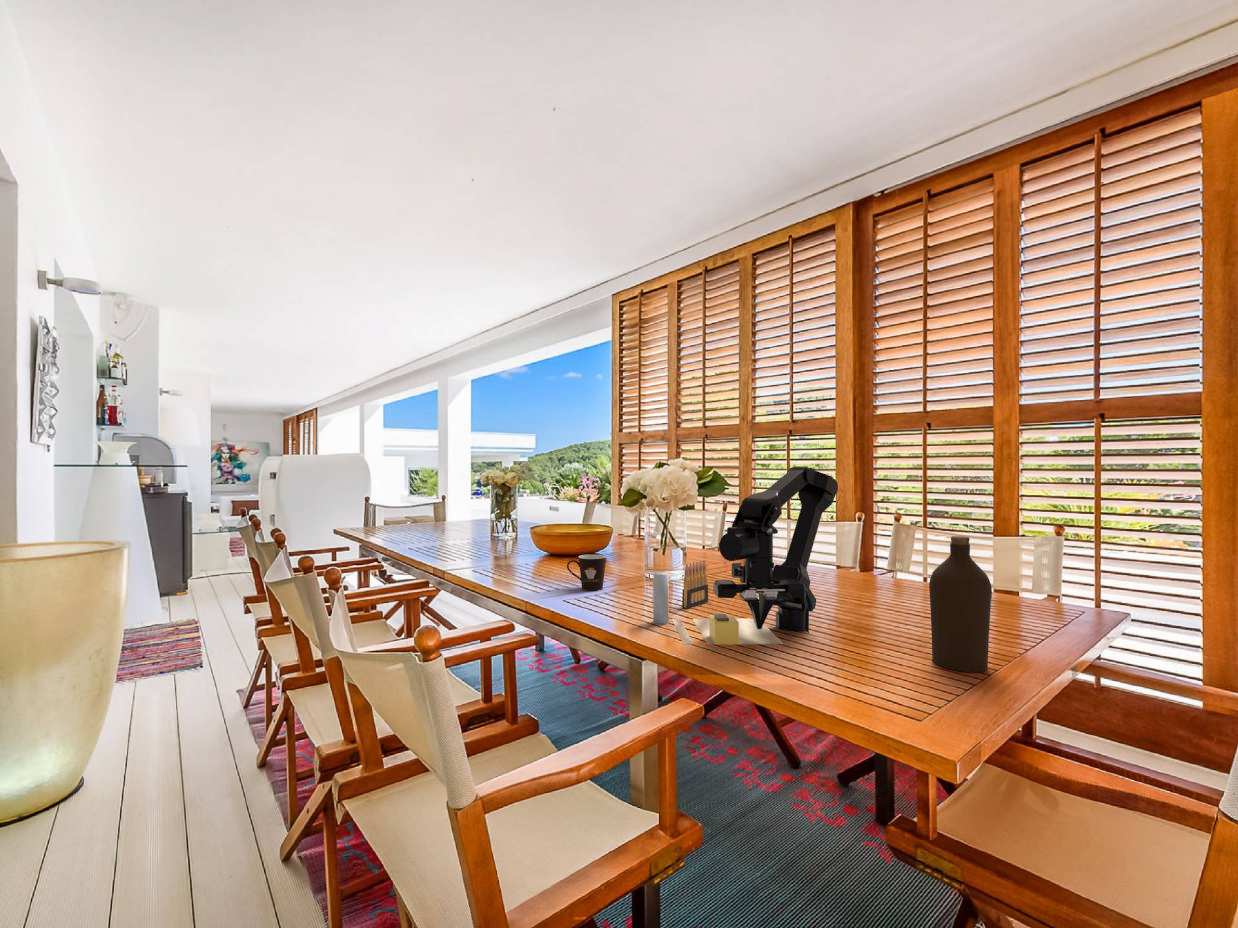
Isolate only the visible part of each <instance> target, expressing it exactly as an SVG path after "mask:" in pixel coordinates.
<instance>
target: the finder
mask: <svg viewBox="0 0 1238 928" xmlns="http://www.w3.org/2000/svg"><path fill="white" fill-rule="evenodd" d="M709 619H710V622H709V636H710V637H711V639H712V641H713V642H714V644H713V645H740V644H739V622H738V621H737V620H736V619H737V618H735V616H733V614H726V613H714V614H709Z"/></svg>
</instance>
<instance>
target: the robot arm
mask: <svg viewBox="0 0 1238 928" xmlns="http://www.w3.org/2000/svg"><path fill="white" fill-rule="evenodd" d="M838 491H839V485H838V482H837V480H836V479H835V478H834V477H833V476H832V475H829V474H826V473H823V472H821V471H818V470H815V469H814V468H813V467H810V466H808V465H807V466H806V465H805V466H804V465H802V466H796V465H795V466H792V467H790V468H789V469H788V471H787V472H786V473H785V474H784V475H783V476H780V478H779V479H778V480H776V482H774V483H773V484H772V485H771V486H769V487H767V489H765V490H763V491H759V492H755V493H752V494H750V495H747V496H746V497H744V498H743V500H742V501H741V502H740V503H741V504H740V506H739V508H738V511H737V513H736V515H735V517H734V520H733V522H732V524H731V526H730V527H729V526H728V527H726V533H725V534H723V535H722V536H721V539H720V541H719V543H718V550H719V552H720V554H721V556H722V558H723V559H725V560H726V561H729V562H733V563H731V578H733V579H740V580H739V582H740V583H737V584H736V582H735V581H734V580H732V579H716V580H715V581H713V584H712V585H713V586H712V588H713V589H712V590H713V593H714V595H715V596H716V597H717V598H719V599H734V598H735V597H737V595H738V594H739V598H741V600H743V601H744V602H746V603H747V605H748V607H749V609H750V612H751V613H750V614H751V615H752V618H753V619H754V622H755V625H756V628H757V629H762V626H763V624H764V625H765V621H766V619H767V617H768V615H769V614H770V613H769V612H770V611H771V609H772V608H773V606H777V611H776V612H775V627H776V628H777V629H778V630H781V631H789V632H804V631H805V632H806V633H808V635H810V636H812V634H811V633H810V612H813V611H814V609H816V605H817V598H816V596H815V595H814V594H813V592H812V590H811V587H810V586H811V579H810V575H809V573H808V571H807V570H808V569H807V568H808V565H809V560H810V557H811V553H812V551H813V546H814V545H815V544H814V543H815V540H816V536H817V533H818V529H819V525H820V522H821V518H822V515H823V513H824V512H825V511H826V510H827V509H828V508H829V507H831V506H832V505H833V502H834V500H835V497H836V495H837V493H838ZM795 495H797V496H798V499H799V502H800V505H801V507H800V510H799V514H798V517H797V521H796V524H795V526H794V527H795V528H794V530H793V534H792V537H791V540H790V544H789V547H788V550H787V554H786V558H785V560H784V562H782V563H781V564H775V562H774V561H773V560H774V546H773V545H774V535H776V534H778V533H779V530H778V529H777V528H776V527H775V526H774V524H775V523H776V522H777V521H778V519H780V517H781V515H782V514H783V513H782V510H783V509H782V507H783V506H784V505H785V504H787V503H788V502H789V501H790V500H791V499H793V497H794V496H795ZM741 560H744V561H743V562H744V563H743V564H742V563H741V562H737V561H741ZM735 561H736V562H735ZM757 593H758V597H757Z"/></svg>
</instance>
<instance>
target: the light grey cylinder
mask: <svg viewBox="0 0 1238 928" xmlns="http://www.w3.org/2000/svg"><path fill="white" fill-rule="evenodd" d="M669 575H670V574H669V573H668V572H664V571H663V572H653V575H652V576H653V581H652V582H653V583H652V584H653V585H652V586H653V588H652V589H653V591H652V592H653V594H652V597H653V600H652V601H653V602H652V606H653V607H652V609H653V611H652V612H653V613H652V614H653V616H652V619H653V620H652V623H653V624H654V625H659V626H662V625H663V626H664V625H668V624H670V621H669V612H670V611H669V610H670V608H669V605H670V604H669V600H670V599H669V598H670V595H669V592H670V591H669V590H670V587H669V585H670V579H669V578H670V576H669Z"/></svg>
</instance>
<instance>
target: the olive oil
mask: <svg viewBox="0 0 1238 928" xmlns="http://www.w3.org/2000/svg"><path fill="white" fill-rule="evenodd" d="M928 582H929V583H928V586H929V587H928V588H929V592H928V593H929V606H930V625H931V627H930V629H931V630H930V631H931V658H932V662H933V663H934V664H936V665H937V666H940V667H941V668H944V669H947V670H951V671H956V672H962V673H982V672H985V671H987V670H988V665H989V645H990V643H989V642H990V627H991V626H990V625H991V610H992V595H993V588H992V583H991V580H990V578H989V576H988V575H987V573H986V572H985V571H984V570H983V569H982V568H981V567H980V566H979V565H978V564H977V563H976V561H974V560H973V559H972V557H971V544H970V537H969V536H963V535H962V536H961V535H952V536H951V537H950V544H949V556H948V557H947V558H946V559H945V560H944V561H942V562H941V563H940V564H939V565H938V566H937V567H936V568H935V569H934V570H933V571H932V573H931V575H930V578H929V581H928Z"/></svg>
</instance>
